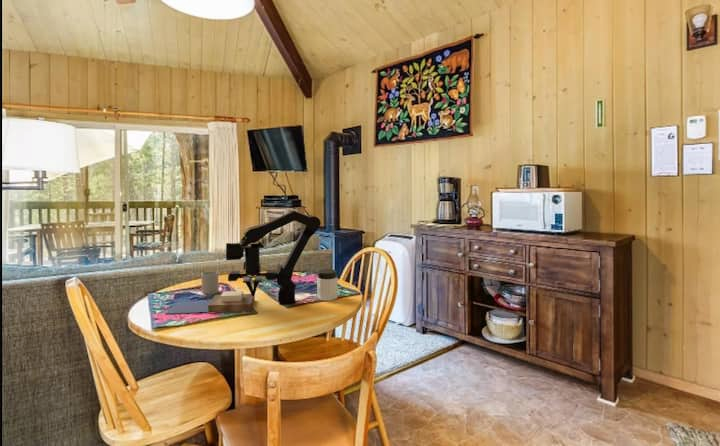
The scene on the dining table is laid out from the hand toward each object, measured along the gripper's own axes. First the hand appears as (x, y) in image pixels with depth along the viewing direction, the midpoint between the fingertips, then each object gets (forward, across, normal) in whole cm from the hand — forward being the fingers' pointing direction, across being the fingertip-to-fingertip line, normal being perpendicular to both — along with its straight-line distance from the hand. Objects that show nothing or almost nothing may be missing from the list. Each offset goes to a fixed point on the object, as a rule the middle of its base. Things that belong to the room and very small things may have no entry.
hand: (253, 296), depth 174 cm
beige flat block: (+1, +8, 0) cm, 8 cm away
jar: (+4, -31, -7) cm, 32 cm away
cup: (+4, +22, -23) cm, 32 cm away
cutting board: (+4, +8, 0) cm, 9 cm away
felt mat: (+4, +24, 0) cm, 25 cm away
